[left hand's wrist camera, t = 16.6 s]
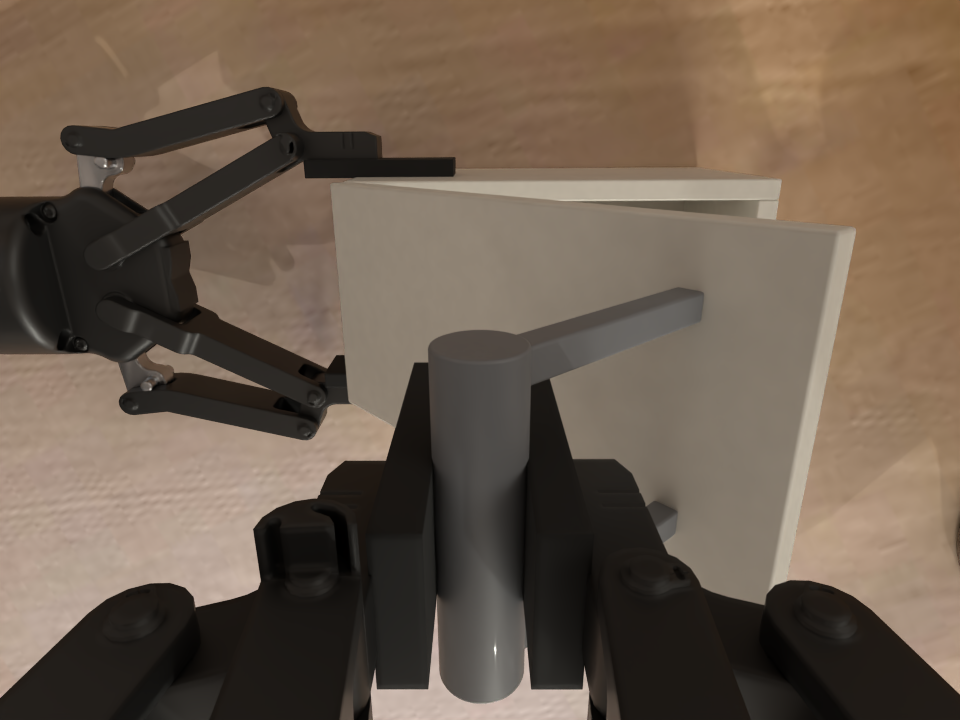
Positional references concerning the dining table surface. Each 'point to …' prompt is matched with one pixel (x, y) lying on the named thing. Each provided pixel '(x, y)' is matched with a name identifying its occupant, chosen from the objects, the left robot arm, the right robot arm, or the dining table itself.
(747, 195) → the chest
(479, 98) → the dining table surface
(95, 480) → the dining table surface
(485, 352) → the lid
